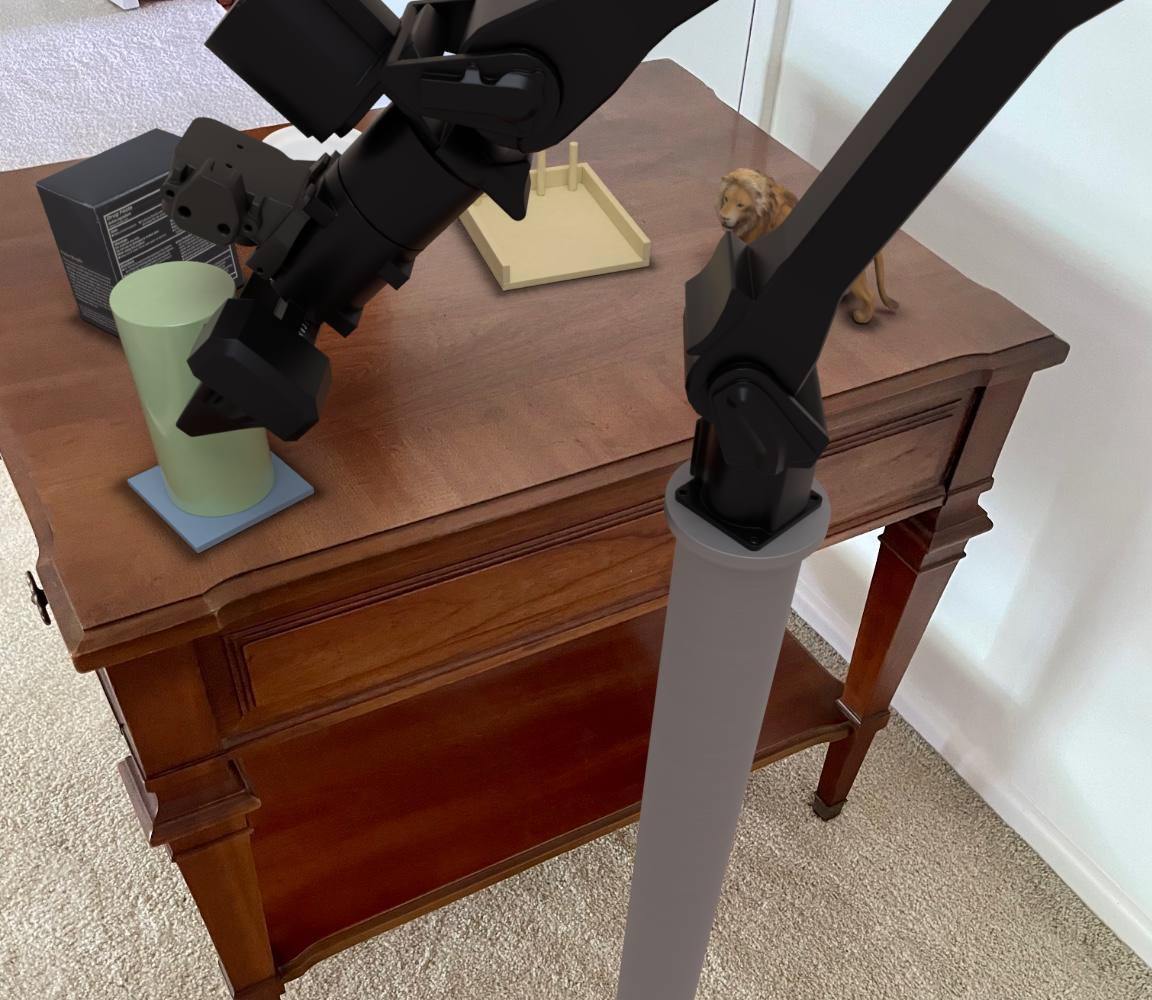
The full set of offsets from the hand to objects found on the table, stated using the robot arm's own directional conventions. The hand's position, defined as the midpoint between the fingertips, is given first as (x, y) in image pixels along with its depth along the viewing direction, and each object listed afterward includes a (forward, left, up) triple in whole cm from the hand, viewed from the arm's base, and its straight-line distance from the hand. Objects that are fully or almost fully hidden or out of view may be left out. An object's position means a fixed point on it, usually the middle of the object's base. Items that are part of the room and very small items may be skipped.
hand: (207, 378), depth 63 cm
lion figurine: (-8, -43, -8) cm, 45 cm away
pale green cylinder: (+1, 0, -8) cm, 8 cm away
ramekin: (+28, -25, -8) cm, 38 cm away
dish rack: (+11, -35, -8) cm, 38 cm away
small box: (+22, -7, -8) cm, 24 cm away
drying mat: (+1, +1, -8) cm, 8 cm away
